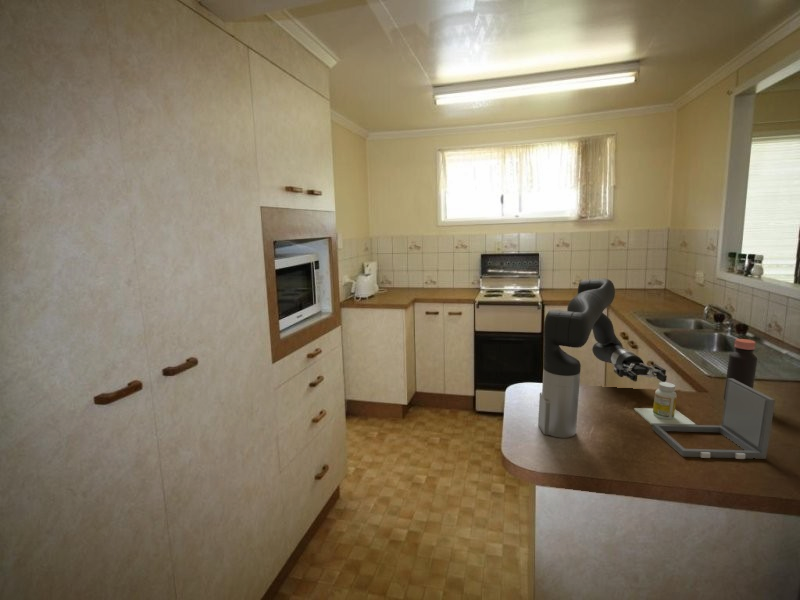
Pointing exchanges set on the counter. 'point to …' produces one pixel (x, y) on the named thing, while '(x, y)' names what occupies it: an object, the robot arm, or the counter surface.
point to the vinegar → (742, 363)
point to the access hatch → (732, 425)
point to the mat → (652, 419)
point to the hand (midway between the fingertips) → (650, 378)
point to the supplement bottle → (665, 401)
